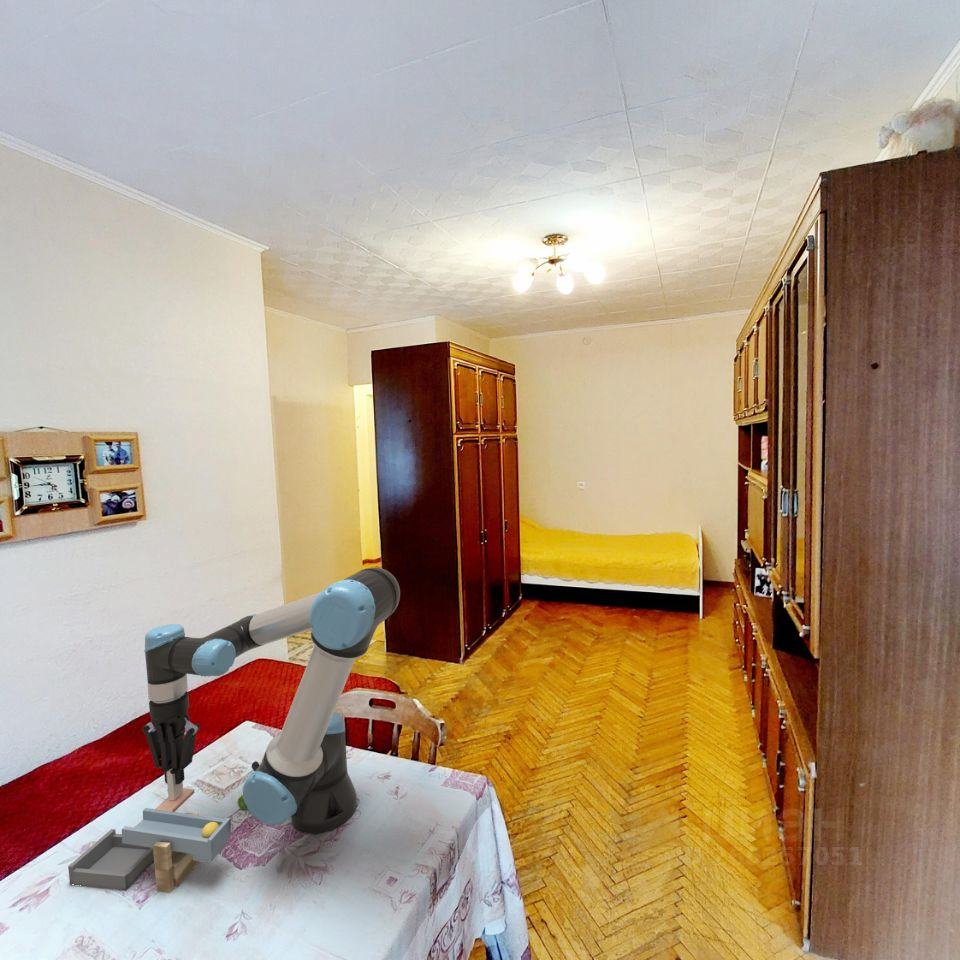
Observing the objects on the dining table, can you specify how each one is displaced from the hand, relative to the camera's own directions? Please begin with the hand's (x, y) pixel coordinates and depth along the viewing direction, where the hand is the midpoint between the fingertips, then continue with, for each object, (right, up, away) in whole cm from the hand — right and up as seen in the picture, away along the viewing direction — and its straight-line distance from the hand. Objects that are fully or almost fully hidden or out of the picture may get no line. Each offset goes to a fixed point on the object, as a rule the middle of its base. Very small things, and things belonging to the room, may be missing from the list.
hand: (175, 796), depth 113 cm
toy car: (+15, -8, +11) cm, 21 cm away
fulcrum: (+7, -10, -10) cm, 16 cm away
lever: (+7, -4, -6) cm, 10 cm away
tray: (-7, -10, -8) cm, 15 cm away
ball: (+14, 0, -12) cm, 19 cm away
